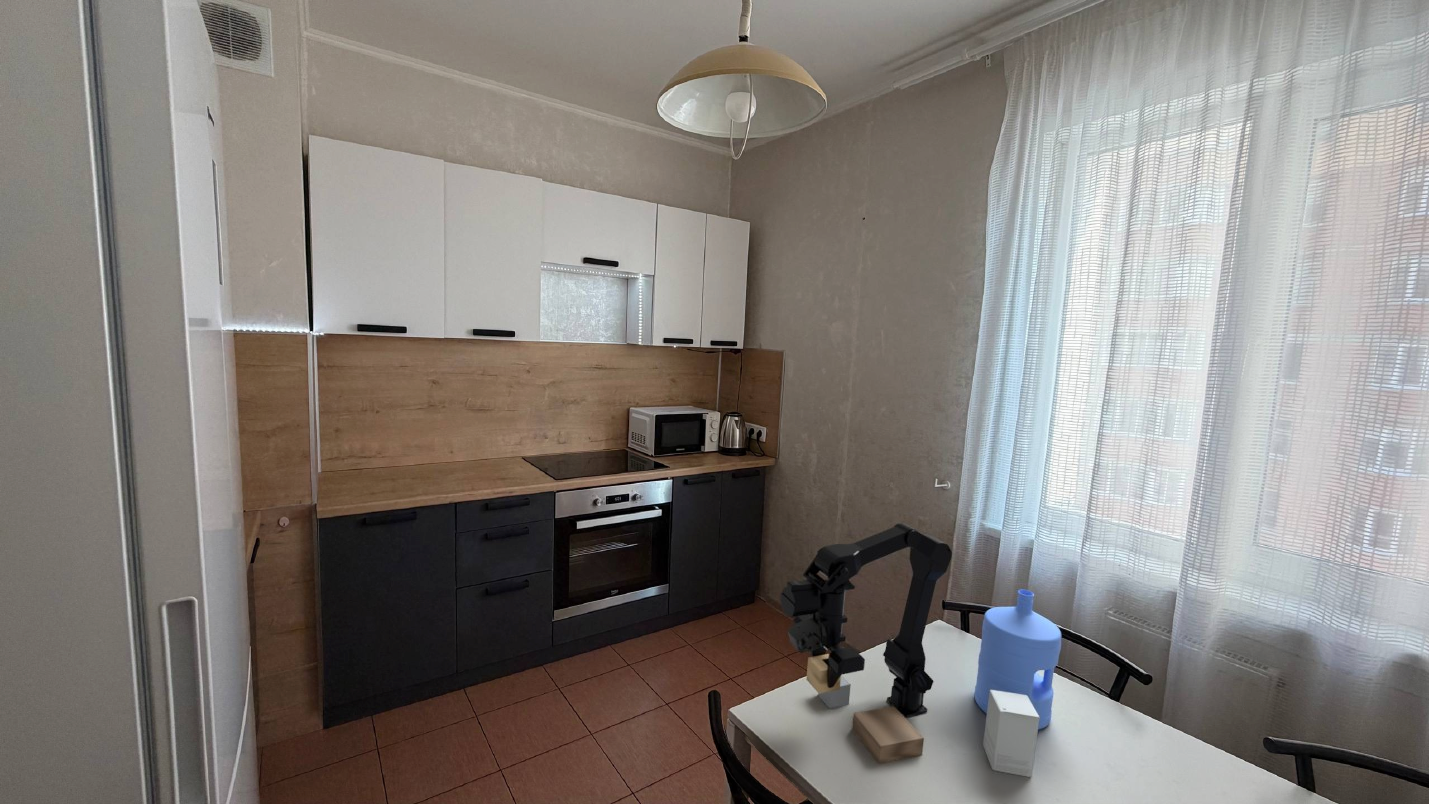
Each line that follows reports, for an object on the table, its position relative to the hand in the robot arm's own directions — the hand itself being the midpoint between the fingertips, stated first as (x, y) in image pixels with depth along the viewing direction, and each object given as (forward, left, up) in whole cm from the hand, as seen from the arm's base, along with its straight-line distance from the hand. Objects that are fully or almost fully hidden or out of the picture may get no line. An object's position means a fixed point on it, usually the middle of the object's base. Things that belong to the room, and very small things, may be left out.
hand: (823, 679), depth 120 cm
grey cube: (-8, -7, -11) cm, 15 cm away
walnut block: (-11, +8, -11) cm, 18 cm away
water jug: (-46, +8, -11) cm, 48 cm away
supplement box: (-31, +20, -11) cm, 39 cm away
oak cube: (0, 0, -1) cm, 1 cm away
